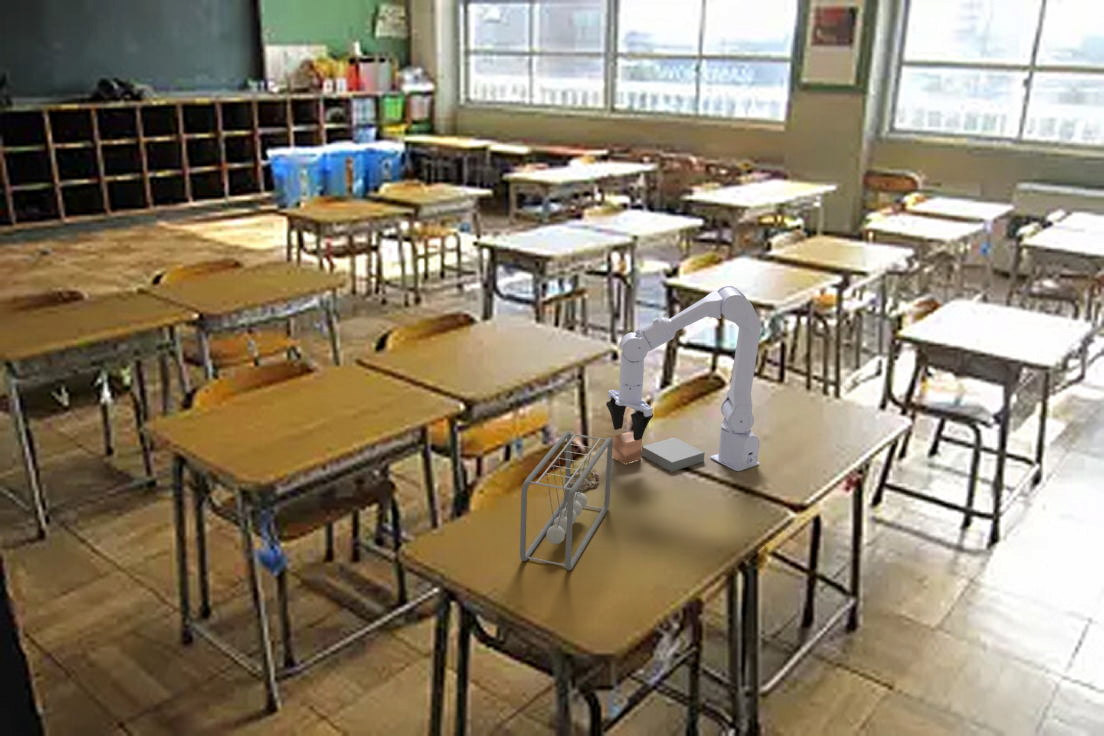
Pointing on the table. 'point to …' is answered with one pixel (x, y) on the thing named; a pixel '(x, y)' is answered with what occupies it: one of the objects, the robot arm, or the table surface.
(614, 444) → the terracotta cube
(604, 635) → the table surface
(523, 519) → the newton's cradle
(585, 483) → the mineral rock
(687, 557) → the table surface
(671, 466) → the gray plinth
